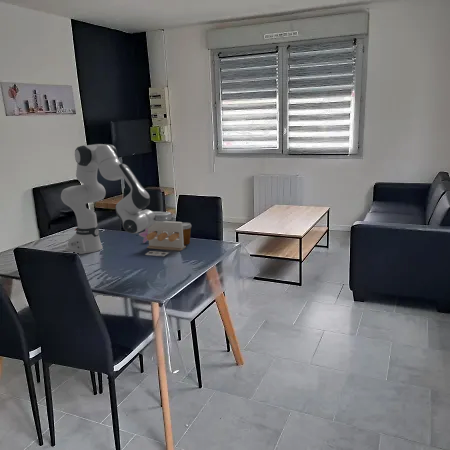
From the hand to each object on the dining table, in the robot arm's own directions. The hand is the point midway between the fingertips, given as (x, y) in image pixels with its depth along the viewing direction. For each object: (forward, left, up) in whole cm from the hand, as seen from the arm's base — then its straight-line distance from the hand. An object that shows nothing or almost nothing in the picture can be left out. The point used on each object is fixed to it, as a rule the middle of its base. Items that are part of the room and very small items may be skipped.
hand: (158, 212), depth 225 cm
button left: (-14, +15, -20) cm, 29 cm away
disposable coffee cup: (0, +30, -26) cm, 40 cm away
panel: (-7, +19, -26) cm, 33 cm away
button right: (0, +15, -20) cm, 25 cm away
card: (-7, +7, -26) cm, 28 cm away
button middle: (-7, +15, -20) cm, 26 cm away
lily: (-23, +28, -26) cm, 45 cm away
